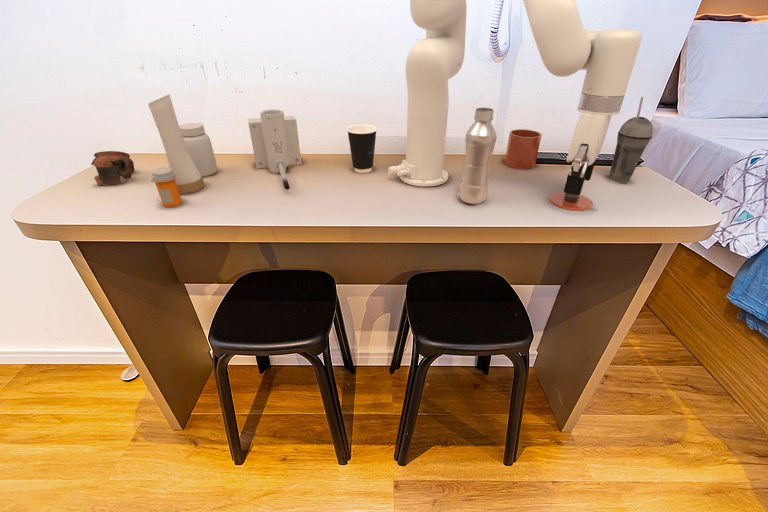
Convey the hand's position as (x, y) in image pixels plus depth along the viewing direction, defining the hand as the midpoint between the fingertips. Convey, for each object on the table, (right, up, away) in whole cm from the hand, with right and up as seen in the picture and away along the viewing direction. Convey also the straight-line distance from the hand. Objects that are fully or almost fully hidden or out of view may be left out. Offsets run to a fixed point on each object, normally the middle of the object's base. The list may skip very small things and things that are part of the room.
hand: (577, 186), depth 84 cm
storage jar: (-4, +11, +25) cm, 27 cm away
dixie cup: (-48, +8, +21) cm, 53 cm away
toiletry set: (-90, +2, +11) cm, 90 cm away
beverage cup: (+18, +4, +15) cm, 24 cm away
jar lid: (0, -3, +2) cm, 4 cm away
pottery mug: (-109, +4, +14) cm, 110 cm away
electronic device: (-69, +5, +16) cm, 71 cm away
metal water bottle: (-22, -3, +4) cm, 23 cm away
